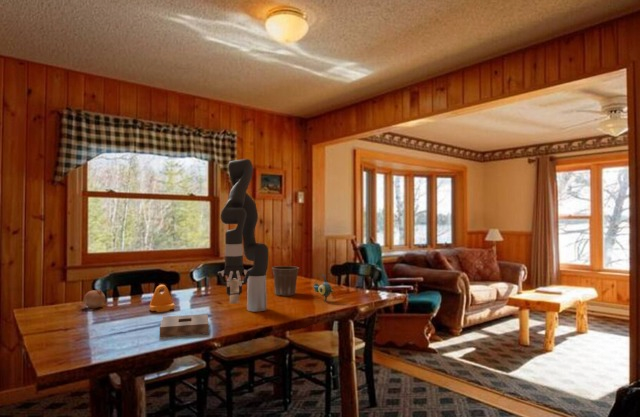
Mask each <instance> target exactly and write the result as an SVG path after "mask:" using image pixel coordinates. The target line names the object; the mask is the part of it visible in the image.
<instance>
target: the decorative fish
mask: <svg viewBox="0 0 640 417" xmlns="http://www.w3.org/2000/svg"><path fill="white" fill-rule="evenodd" d="M321 276H322V277H323V279H324V282H323V283H322V284H320V285H319V284H318V283H315V284H314V285H313V289H314V291H315V292H316V293H319V294H320V295H321V296H323V297H324V300H323V302H326V301H327V299H328V297H329V296H330V295H331V293H333V292H334V290H333V289H332V286H331V284H330V283H328V281H327V278H326V276H324V274H323V273H321Z"/></svg>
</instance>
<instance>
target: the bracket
mask: <svg viewBox="0 0 640 417" xmlns="http://www.w3.org/2000/svg"><path fill="white" fill-rule="evenodd" d="M168 288H169V287H167V286H166V285H165V284H159V285H158V286H156V287H155V290H154V292H153V296H152V297H151V299H150V303H149V308H148V309H149V310H150V311H151V312H156V313H160V312H161V313H163V312H170V310H173V309H175V303H174V302H173V299H172V297H171V295H170V292H169V289H168ZM162 289H164V290H163V292H160V291H161V290H162Z"/></svg>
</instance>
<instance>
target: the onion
mask: <svg viewBox="0 0 640 417" xmlns="http://www.w3.org/2000/svg"><path fill="white" fill-rule="evenodd" d="M105 301H106V296H105V293H104V292H103V291H102V290H101V289H95V290H89V291H88V292H86V293H85V295H84V297H83V303H84V305H85V306H86V307H87V308H89V309H99V308H101V307H102V306H103V305H104V303H105Z"/></svg>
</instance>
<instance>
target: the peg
mask: <svg viewBox="0 0 640 417" xmlns="http://www.w3.org/2000/svg"><path fill="white" fill-rule="evenodd" d="M229 304H240V295H239V279H238V278H237V279H236V278H233V279H231V280H230V296H229Z"/></svg>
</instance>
